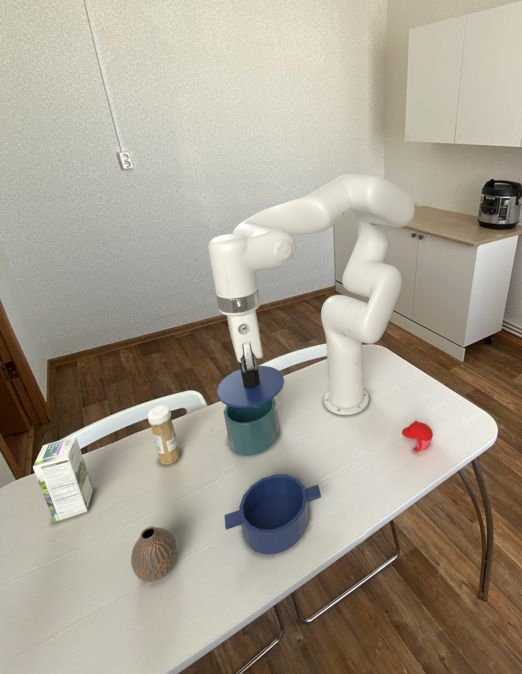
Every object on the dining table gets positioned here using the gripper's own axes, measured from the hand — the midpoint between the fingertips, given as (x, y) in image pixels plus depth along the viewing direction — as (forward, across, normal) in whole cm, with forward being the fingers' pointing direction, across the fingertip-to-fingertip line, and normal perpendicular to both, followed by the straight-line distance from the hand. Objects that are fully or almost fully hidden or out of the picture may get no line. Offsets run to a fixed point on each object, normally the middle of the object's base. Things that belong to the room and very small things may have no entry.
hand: (250, 380), depth 79 cm
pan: (+23, -15, 0) cm, 27 cm away
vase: (+23, -16, +20) cm, 34 cm away
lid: (+1, 0, 0) cm, 1 cm away
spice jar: (+23, +10, +20) cm, 32 cm away
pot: (+23, +10, +1) cm, 25 cm away
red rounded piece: (+23, -8, -35) cm, 43 cm away
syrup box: (+23, +4, +37) cm, 44 cm away
